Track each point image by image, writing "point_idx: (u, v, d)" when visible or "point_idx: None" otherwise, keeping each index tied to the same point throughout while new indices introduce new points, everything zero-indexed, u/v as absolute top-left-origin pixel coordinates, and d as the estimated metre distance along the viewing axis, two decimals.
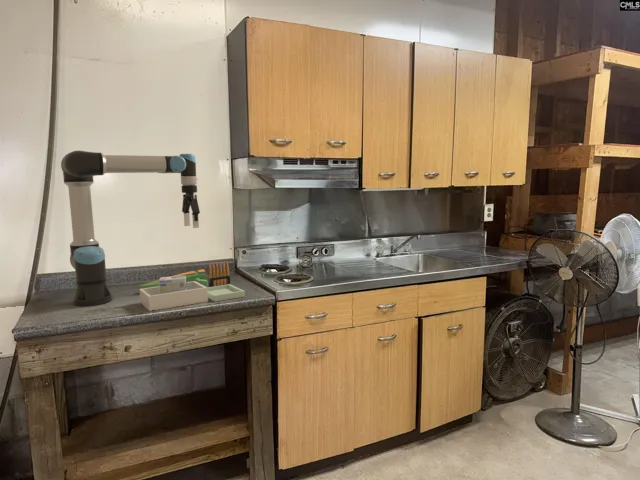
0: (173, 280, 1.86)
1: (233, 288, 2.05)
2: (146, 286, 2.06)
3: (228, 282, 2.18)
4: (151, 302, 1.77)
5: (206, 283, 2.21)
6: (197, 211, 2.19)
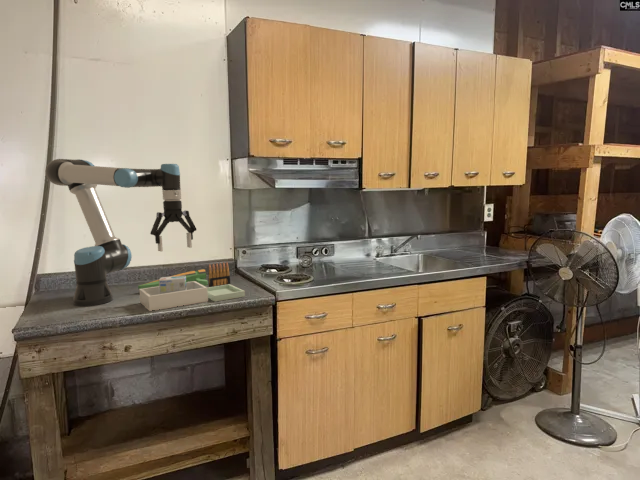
0: (173, 280, 1.86)
1: (233, 288, 2.05)
2: (146, 286, 2.07)
3: (228, 282, 2.18)
4: (151, 302, 1.77)
5: (206, 283, 2.21)
6: (152, 232, 1.87)
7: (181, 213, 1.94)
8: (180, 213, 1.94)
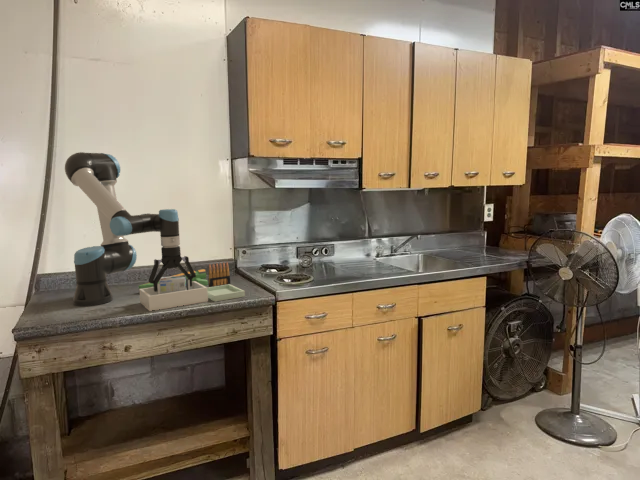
0: (173, 280, 1.86)
1: (233, 288, 2.05)
2: (146, 286, 2.07)
3: (228, 282, 2.18)
4: (151, 302, 1.77)
5: (206, 283, 2.21)
6: (149, 280, 1.84)
7: (180, 259, 1.89)
8: (179, 259, 1.89)
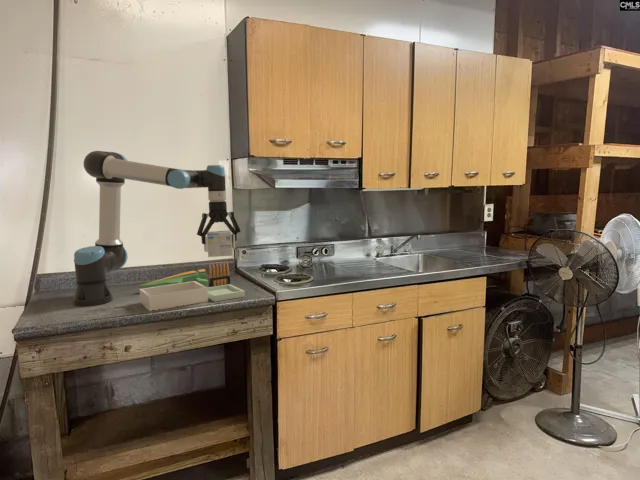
0: (220, 233, 1.94)
1: (233, 288, 2.05)
2: (147, 286, 2.07)
3: (228, 282, 2.18)
4: (151, 302, 1.77)
5: (207, 283, 2.22)
6: (198, 233, 1.91)
7: (226, 214, 1.97)
8: (225, 214, 1.96)
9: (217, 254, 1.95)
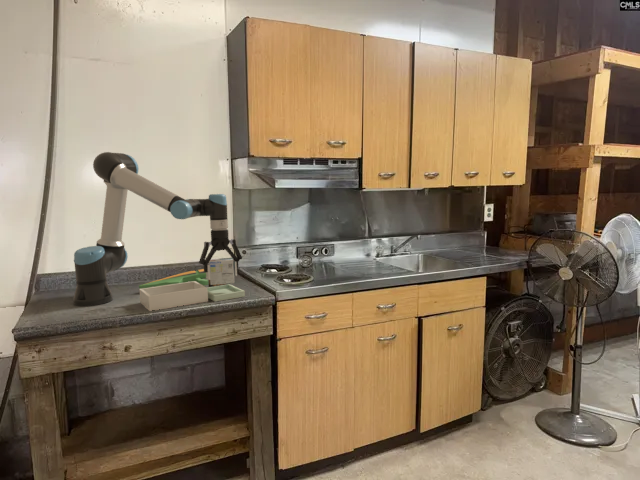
0: (222, 261, 1.96)
1: (233, 288, 2.05)
2: (147, 286, 2.07)
3: None
4: (151, 302, 1.77)
5: (207, 283, 2.22)
6: (200, 261, 1.93)
7: (228, 242, 1.99)
8: (227, 241, 1.98)
9: (219, 282, 1.96)
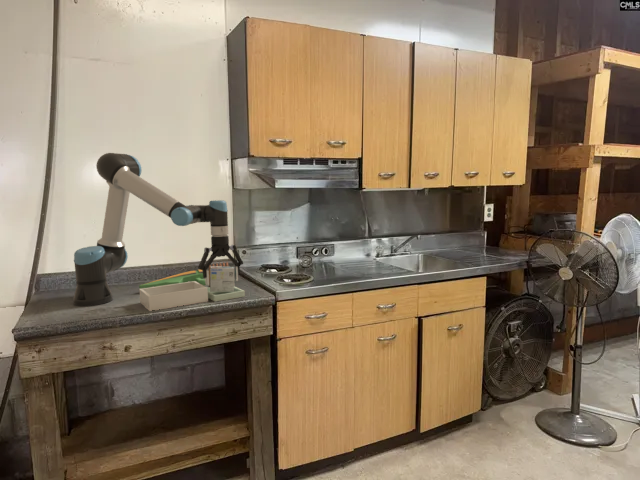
0: (223, 269, 1.96)
1: None
2: (147, 285, 2.07)
3: None
4: (151, 302, 1.77)
5: None
6: (199, 267, 1.93)
7: (228, 248, 1.99)
8: (227, 248, 1.99)
9: (219, 289, 1.97)
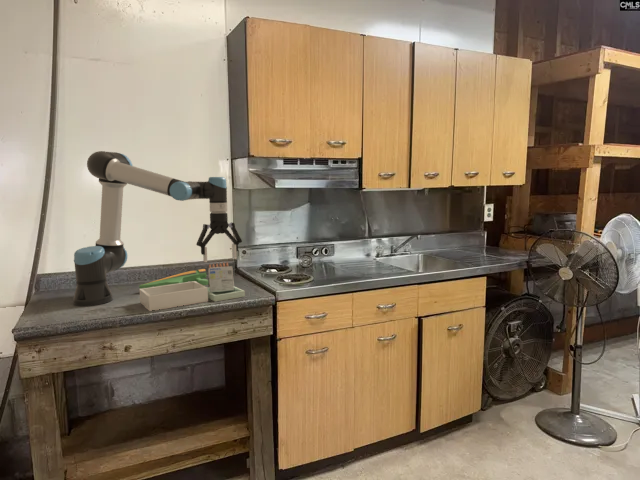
0: (222, 268, 1.99)
1: None
2: (147, 285, 2.07)
3: None
4: (151, 302, 1.77)
5: (207, 283, 2.22)
6: (197, 243, 1.92)
7: (227, 225, 1.98)
8: (226, 225, 1.97)
9: (219, 289, 1.97)
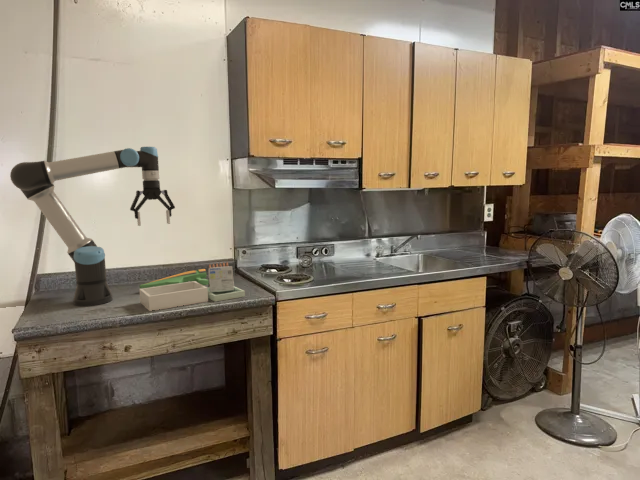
0: (222, 268, 1.99)
1: None
2: (147, 285, 2.08)
3: None
4: (151, 302, 1.77)
5: (207, 283, 2.23)
6: (131, 208, 2.08)
7: (159, 192, 2.14)
8: (158, 192, 2.13)
9: (219, 289, 1.97)
